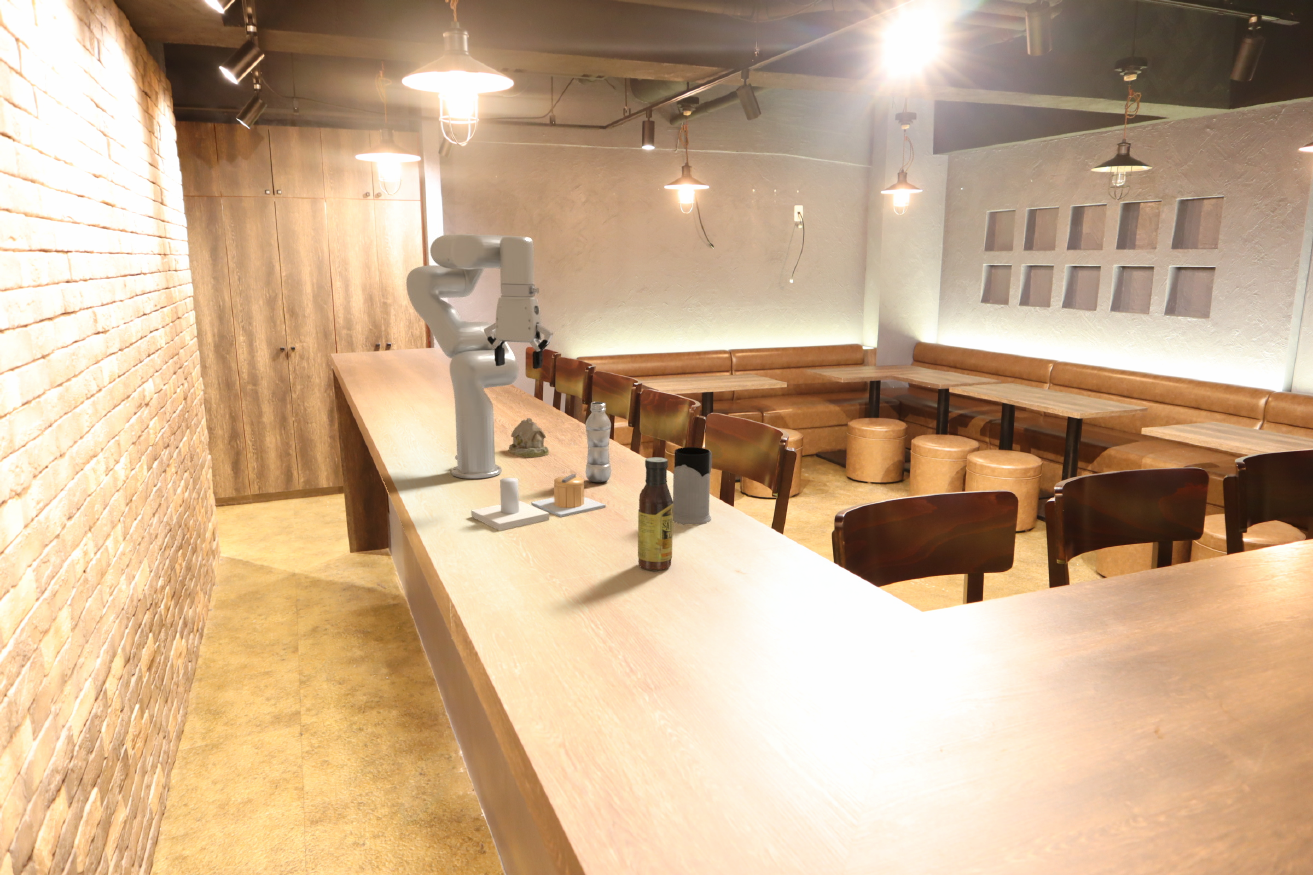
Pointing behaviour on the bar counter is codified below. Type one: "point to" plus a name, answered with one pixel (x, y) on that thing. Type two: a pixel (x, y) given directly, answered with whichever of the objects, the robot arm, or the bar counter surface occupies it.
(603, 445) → the plastic bottle
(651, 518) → the sauce bottle
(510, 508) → the post block
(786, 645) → the bar counter surface
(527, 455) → the ceramic model
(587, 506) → the mat
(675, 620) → the bar counter surface
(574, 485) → the knob
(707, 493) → the glass holder
